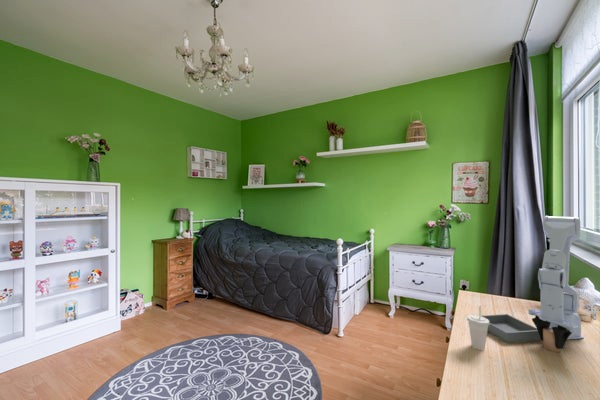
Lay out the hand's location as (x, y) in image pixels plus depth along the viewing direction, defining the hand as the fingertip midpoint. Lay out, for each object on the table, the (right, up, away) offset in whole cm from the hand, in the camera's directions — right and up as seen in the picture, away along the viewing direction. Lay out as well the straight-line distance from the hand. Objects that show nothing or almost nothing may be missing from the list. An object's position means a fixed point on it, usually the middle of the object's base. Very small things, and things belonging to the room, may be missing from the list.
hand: (551, 344), depth 91 cm
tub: (-7, -1, +11) cm, 13 cm away
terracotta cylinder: (0, -1, 0) cm, 1 cm away
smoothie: (-24, -2, +1) cm, 24 cm away
